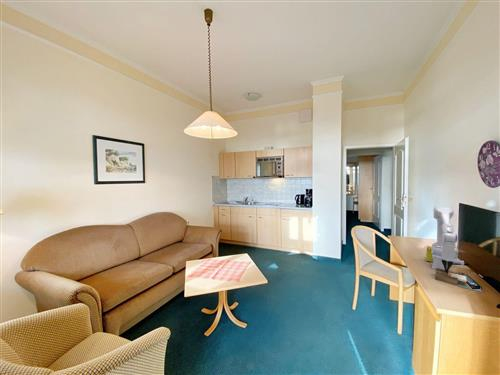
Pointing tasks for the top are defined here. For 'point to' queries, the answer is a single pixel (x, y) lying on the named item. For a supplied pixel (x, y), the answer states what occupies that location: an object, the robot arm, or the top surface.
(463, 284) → the slate mat
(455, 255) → the light bulb box
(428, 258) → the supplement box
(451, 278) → the walnut box
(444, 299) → the top surface
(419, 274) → the top surface
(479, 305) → the top surface
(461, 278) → the lid
